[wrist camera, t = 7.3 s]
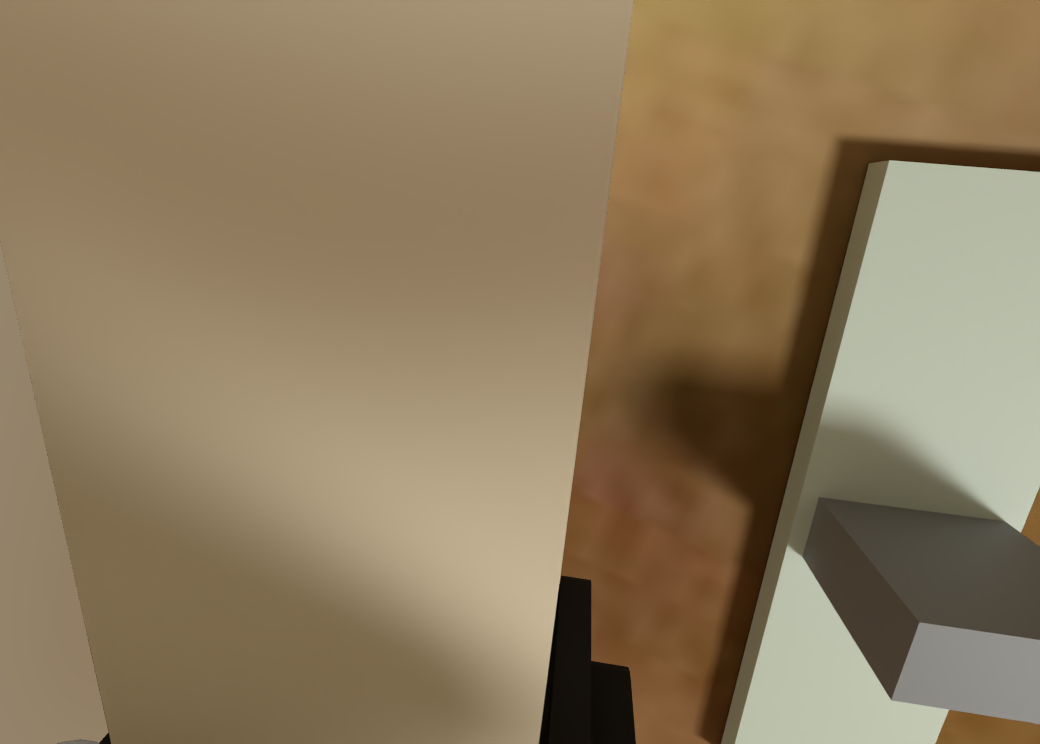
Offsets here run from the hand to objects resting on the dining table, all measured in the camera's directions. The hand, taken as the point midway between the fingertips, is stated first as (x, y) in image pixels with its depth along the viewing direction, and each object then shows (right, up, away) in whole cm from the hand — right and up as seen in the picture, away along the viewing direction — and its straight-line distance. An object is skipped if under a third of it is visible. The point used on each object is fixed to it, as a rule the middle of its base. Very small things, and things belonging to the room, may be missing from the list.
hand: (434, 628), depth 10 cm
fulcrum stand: (+13, 0, +7) cm, 14 cm away
